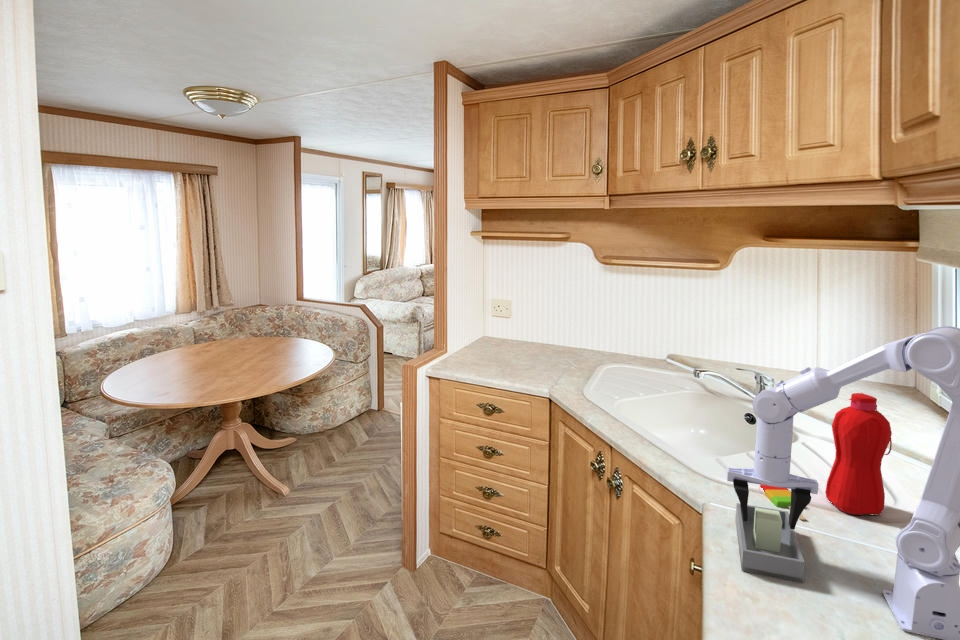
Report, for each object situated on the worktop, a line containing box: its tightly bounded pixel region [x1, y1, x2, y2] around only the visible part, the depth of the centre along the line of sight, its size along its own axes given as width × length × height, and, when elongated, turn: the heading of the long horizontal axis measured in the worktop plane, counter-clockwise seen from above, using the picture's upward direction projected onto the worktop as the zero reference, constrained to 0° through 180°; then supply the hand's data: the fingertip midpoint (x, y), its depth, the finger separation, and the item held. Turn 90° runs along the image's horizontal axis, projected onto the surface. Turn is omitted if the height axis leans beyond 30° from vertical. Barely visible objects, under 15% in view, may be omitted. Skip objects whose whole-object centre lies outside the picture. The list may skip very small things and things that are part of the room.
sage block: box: [753, 508, 782, 552], centre depth 98 cm, size 4×4×6 cm
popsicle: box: [759, 484, 807, 521], centre depth 115 cm, size 6×15×2 cm, turn 175°
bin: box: [735, 502, 805, 584], centre depth 98 cm, size 18×9×4 cm, turn 157°
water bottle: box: [824, 392, 893, 516], centre depth 112 cm, size 9×11×25 cm
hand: (767, 522), depth 97 cm, fingers open, 7 cm apart
